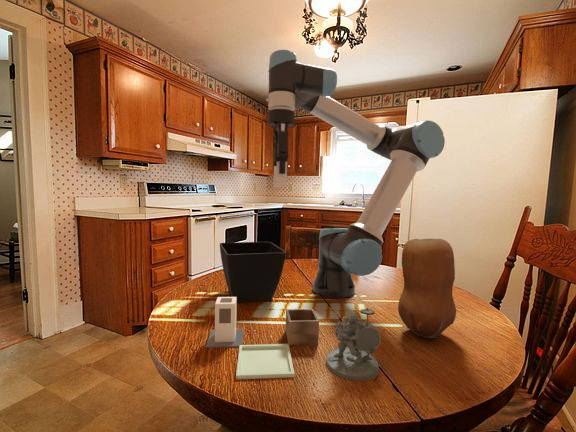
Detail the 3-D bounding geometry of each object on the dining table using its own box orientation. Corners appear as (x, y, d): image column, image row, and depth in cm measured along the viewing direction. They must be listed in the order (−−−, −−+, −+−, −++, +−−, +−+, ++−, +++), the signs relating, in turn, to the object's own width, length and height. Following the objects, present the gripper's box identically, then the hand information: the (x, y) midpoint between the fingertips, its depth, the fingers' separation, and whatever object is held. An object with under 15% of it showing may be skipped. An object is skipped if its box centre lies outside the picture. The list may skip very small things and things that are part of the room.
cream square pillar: (236, 332, 72) (236, 296, 72) (234, 341, 68) (235, 303, 67) (217, 332, 72) (217, 296, 71) (214, 342, 67) (214, 303, 67)
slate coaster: (243, 331, 74) (243, 329, 74) (241, 348, 66) (242, 345, 66) (211, 332, 73) (211, 329, 73) (205, 349, 65) (205, 346, 65)
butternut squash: (399, 319, 84) (404, 232, 82) (452, 329, 78) (459, 237, 76) (394, 340, 72) (400, 239, 70) (457, 355, 66) (465, 245, 64)
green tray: (288, 348, 67) (288, 343, 67) (294, 378, 56) (294, 373, 56) (239, 349, 66) (239, 345, 66) (235, 380, 55) (236, 375, 55)
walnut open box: (312, 331, 75) (313, 309, 75) (318, 346, 68) (319, 321, 68) (285, 332, 74) (286, 309, 74) (288, 346, 67) (288, 321, 67)
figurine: (321, 352, 66) (323, 300, 65) (368, 351, 66) (370, 300, 66) (332, 383, 55) (335, 321, 54) (388, 381, 56) (391, 320, 55)
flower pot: (285, 302, 94) (287, 251, 93) (226, 309, 88) (227, 253, 87) (269, 284, 112) (270, 241, 111) (218, 289, 106) (219, 242, 104)
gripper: (266, 121, 94) (265, 187, 96) (269, 96, 70) (267, 185, 71) (289, 122, 95) (288, 188, 97) (301, 98, 70) (298, 186, 72)
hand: (279, 187), depth 84 cm, fingers open, 13 cm apart
